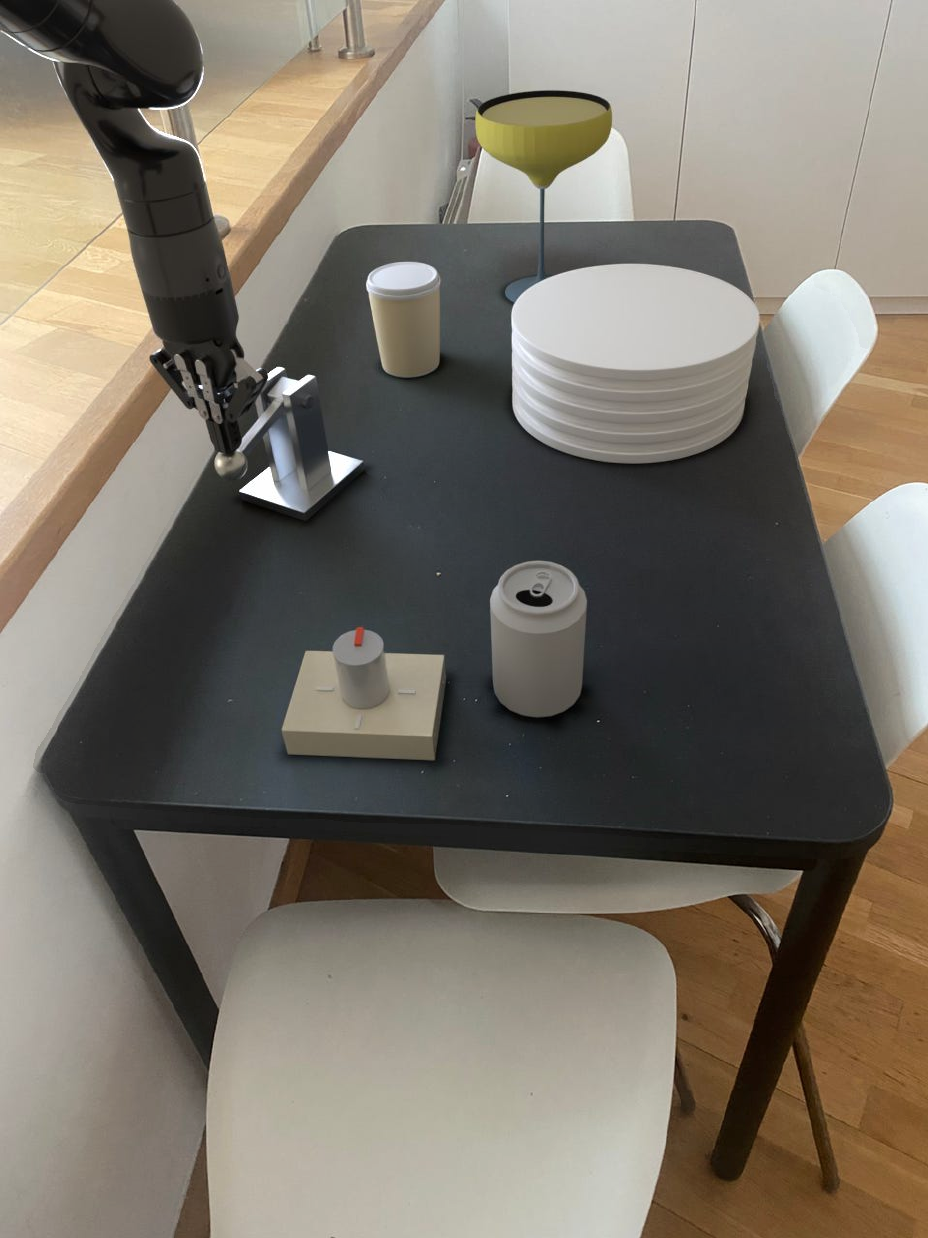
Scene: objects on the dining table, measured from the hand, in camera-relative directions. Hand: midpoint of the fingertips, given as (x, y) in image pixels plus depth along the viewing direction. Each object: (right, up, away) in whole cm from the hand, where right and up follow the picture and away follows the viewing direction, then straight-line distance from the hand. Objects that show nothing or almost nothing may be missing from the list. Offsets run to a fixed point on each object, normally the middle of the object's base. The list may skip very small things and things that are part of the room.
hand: (228, 449), depth 90 cm
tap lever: (+3, +2, +4) cm, 5 cm away
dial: (+15, -22, -15) cm, 31 cm away
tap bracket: (+5, -2, +13) cm, 14 cm away
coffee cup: (+16, +17, +33) cm, 41 cm away
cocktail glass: (+35, +32, +48) cm, 67 cm away
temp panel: (+15, -25, -13) cm, 32 cm away
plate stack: (+43, +10, +23) cm, 50 cm away
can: (+29, -23, -12) cm, 39 cm away
